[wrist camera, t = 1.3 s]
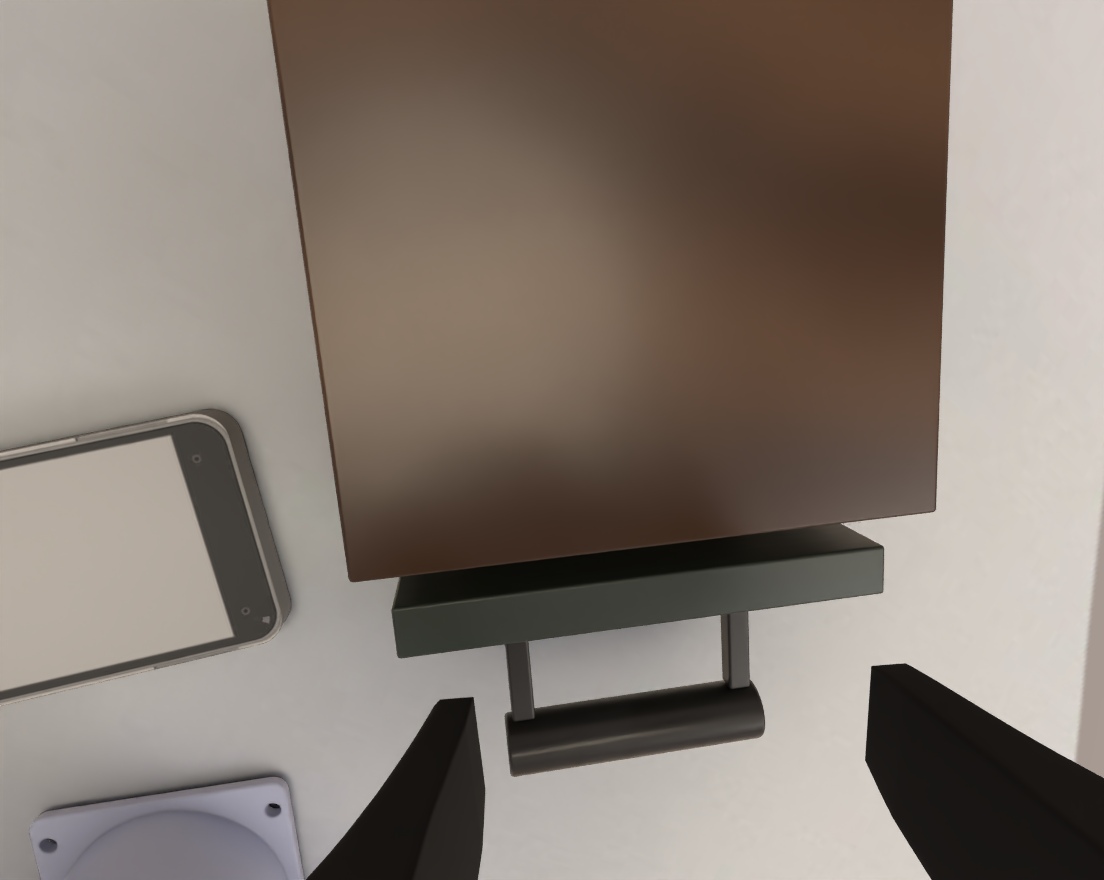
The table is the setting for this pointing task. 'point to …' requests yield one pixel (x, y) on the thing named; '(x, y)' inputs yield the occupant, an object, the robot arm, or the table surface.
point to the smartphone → (132, 554)
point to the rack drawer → (628, 601)
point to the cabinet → (618, 267)
